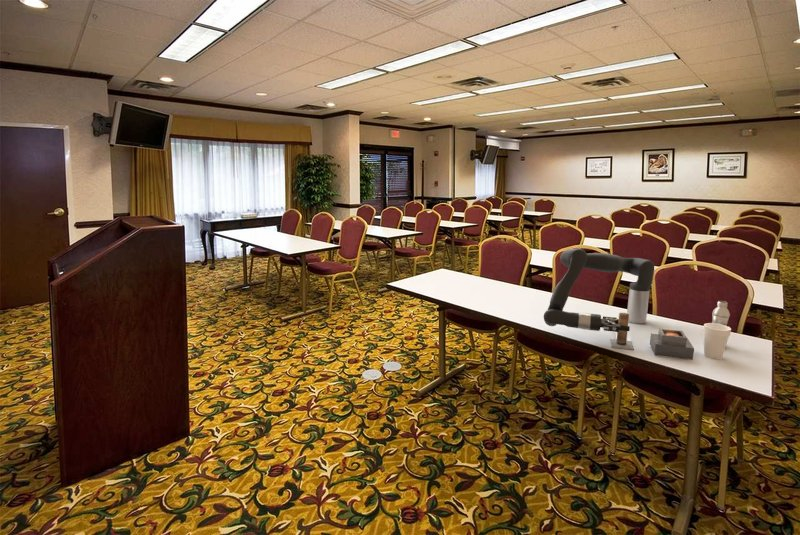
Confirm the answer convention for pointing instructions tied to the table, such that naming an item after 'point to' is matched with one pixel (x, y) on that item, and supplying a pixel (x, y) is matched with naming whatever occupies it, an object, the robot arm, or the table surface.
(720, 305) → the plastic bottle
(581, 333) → the table surface
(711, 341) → the foam cup
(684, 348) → the grey button housing
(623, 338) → the stick
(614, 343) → the mat
